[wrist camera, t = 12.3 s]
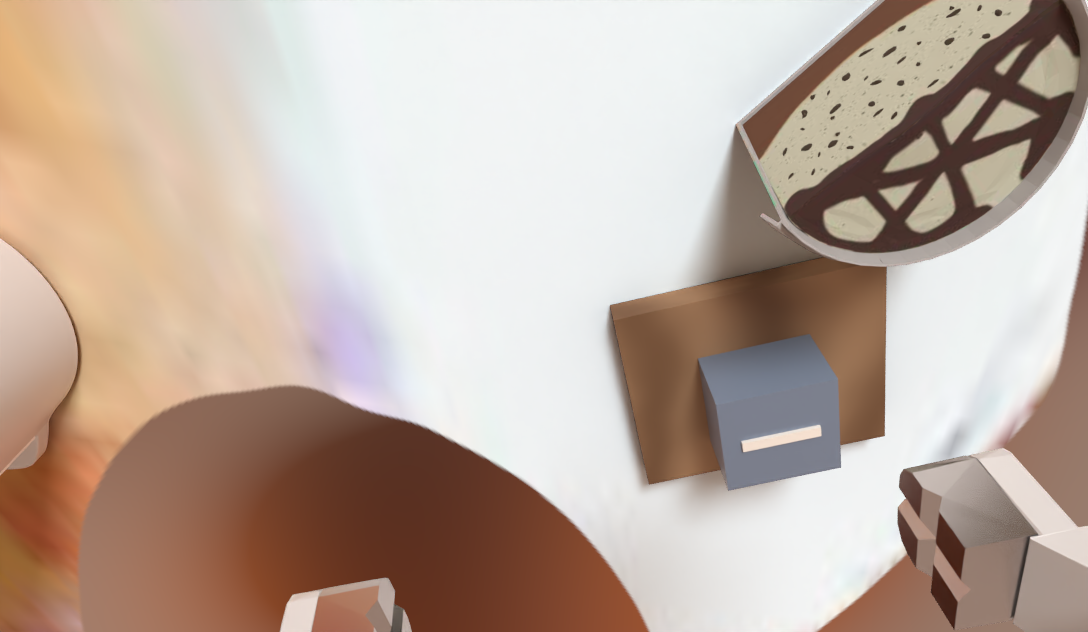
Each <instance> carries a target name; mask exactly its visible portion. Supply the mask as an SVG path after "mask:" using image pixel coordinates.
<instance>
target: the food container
mask: <svg viewBox="0 0 1088 632" xmlns="http://www.w3.org/2000/svg"><path fill="white" fill-rule="evenodd" d="M1087 106H1088V7H1087V5H1086V3H1085V0H877V1H876V2H875V3H873V4H872V5H871V6H870V7H869V8H868V9H867V10H865V11H864V12H863V13H862V14H861V15H860V16H859V17H858V18H856V19H855V20H854V21H853V22H852V23H851V24H850V25H848V26H847V27H846V28H845V29H844V30H843V31H842V32H840V33H839V34H838V35H837V36H836V37H835V38H834V39H832V40H831V41H830V42H829V43H828V44H827V45H826V46H825V47H823V48H822V49H821V50H820V51H819V52H818V53H817V54H815V55H814V56H813V57H812V58H811V59H810V60H809V61H807V62H806V63H805V64H804V65H803V66H802V67H801V68H800V69H798V70H797V71H796V72H795V73H794V74H793V75H792V76H790V77H789V78H788V79H787V80H786V81H785V82H784V83H782V84H781V85H780V86H779V87H778V88H777V89H776V90H774V91H773V92H772V93H771V94H770V95H769V96H768V97H767V98H765V99H764V100H763V101H762V102H761V103H760V104H759V105H757V106H756V107H755V108H754V109H753V110H752V111H751V112H749V113H748V114H747V115H746V116H745V117H744V118H743V119H741V120H740V121H739V122H738V123H737V124H736V126H737V129H738V131H739V133H740V135H741V137H742V139H743V141H744V143H745V145H746V148H747V150H748V152H749V154H750V156H751V158H752V160H753V162H754V164H755V166H756V169H757V171H758V173H759V175H760V177H761V179H762V181H763V183H764V185H765V188H766V190H767V192H768V194H769V196H770V198H771V200H772V202H773V204H774V206H775V209H776V211H777V213H778V215H779V217H780V219H781V220H780V221H779V222H777V221H775V220H774V219H772V218H770V217H768V216H767V215H765V214H763V213H762V214H761V215H760V217H761V218H762V219H763V220H764V221H766V222H767V223H768V224H769V225H770V226H771V227H772V228H774V229H775V230H776V231H778V232H779V233H781V234H783V235H784V236H786V237H787V238H789V239H791V240H792V241H794V242H795V243H797V244H799V245H800V246H802V247H804V248H805V249H807V250H808V251H810V252H813V253H815V254H818V255H820V256H823V257H825V258H828V259H831V260H836V261H840V262H845V263H850V264H856V265H861V266H880V267H886V266H897V265H907V264H912V263H916V262H921V261H925V260H930V259H933V258H936V257H938V256H941V255H944V254H947V253H950V252H952V251H955V250H957V249H959V248H961V247H963V246H965V245H967V244H969V243H971V242H973V241H975V240H977V239H979V238H980V237H982V236H984V235H985V234H987V233H988V232H990V231H991V230H993V229H994V228H996V227H998V226H999V225H1001V224H1002V223H1003V222H1004V221H1005V220H1007V219H1008V218H1009V217H1010V216H1012V215H1013V214H1014V213H1015V212H1017V211H1018V210H1019V209H1020V208H1021V207H1022V206H1023V205H1024V204H1025V203H1026V202H1027V201H1028V200H1029V199H1030V198H1031V197H1032V196H1033V195H1034V194H1035V193H1036V192H1037V191H1038V190H1039V189H1040V188H1041V187H1042V186H1043V185H1044V183H1045V182H1046V181H1047V180H1048V178H1049V177H1050V176H1051V175H1052V173H1053V172H1054V171H1055V169H1056V168H1057V167H1058V165H1059V164H1060V162H1061V161H1062V159H1063V157H1064V156H1065V154H1066V153H1067V151H1068V149H1069V148H1070V146H1071V144H1072V143H1073V141H1074V138H1075V136H1076V134H1077V132H1078V130H1079V128H1080V125H1081V123H1082V121H1083V119H1084V116H1085V113H1086V110H1087Z"/></svg>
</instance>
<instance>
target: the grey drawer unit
mask: <svg viewBox="0 0 1088 632" xmlns="http://www.w3.org/2000/svg"><path fill="white" fill-rule="evenodd" d="M698 363H699V370H700V376H701V383H702V389H703V396H704V402H705V409H706V415H707V422H708V428H709V435H710V441H711V444H712V447H713V449H714V452H715V455H716V458H717V460H718V463H719V466H720V469H721V472H722V474H723V477H724V480H725V483H726V486H727V488H728V491H729V490H734V489H738V488H743V487H748V486H753V485H758V484H763V483H768V482H772V481H777V480H782V479H787V478H792V477H797V476H802V475H806V474H811V473H816V472H821V471H826V470H831V469H836V468H841V453H840V422H839V392H838V378H837V376H836V375H835V373H834V372H833V370H832V369H831V367H830V365H829V364H828V362H827V361H826V359H825V358H824V356H823V354H822V353H821V351H820V350H819V348H818V347H817V345H816V343H815V342H814V340H813V339H812V337H811V336H810V334H807V335H803V336H798V337H793V338H789V339H784V340H780V341H775V342H771V343H766V344H761V345H757V346H752V347H748V348H743V349H739V350H734V351H730V352H725V353H720V354H716V355H711V356H707V357H702V358H698Z"/></svg>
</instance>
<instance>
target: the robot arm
mask: <svg viewBox="0 0 1088 632" xmlns="http://www.w3.org/2000/svg"><path fill="white" fill-rule="evenodd" d="M77 364H78V349H77V342H76V336H75V333H74V329H73V326H72V323H71V320H70V318H69V316H68V314H67V311H66V309H65V308H64V306H63V304H62V302H61V300H60V299H59V297H58V296H57V294H56V293H55V291H54V290H53V288H52V287H51V286H50V284H49V283H48V282H47V281H46V279H45V278H44V277H43V276H42V275H41V274H40V273H39V271H38V270H37V269H36V268H35V267H34V266H33V265H32V264H31V263H30V262H29V261H28V260H27V259H26V258H24V257H23V256H22V255H21V254H20V253H19V252H18V251H16V250H15V249H14V248H13V247H11V246H10V245H9V244H7V243H6V242H5V241H3V240H2V239H0V475H1V474H2V473H3V472H4V471H5V470H7V469H22V468H27V467H29V466H31V465H33V464H34V463H35V462H36V461H37V460H38V459H39V458H40V457H41V456H42V455H43V453H44V452H45V450H46V448H47V444H48V434H49V420H50V417H51V415H52V414H53V412H54V411H55V409H56V408H57V407H58V406H59V404H60V403H61V402H62V401H63V399H64V398H65V397H66V395H67V393H68V392H69V390H70V388H71V386H72V384H73V381H74V378H75V375H76V371H77ZM899 488H900V490H901V491H902V493H903V494H904V496H905V497H906V499H905V500H904V501H903V502H902V503H901V504H900V506H899V507H898V527H899V531H900V535H901V539H902V542H903V544H904V547H905V549H906V551H907V554H908V555H909V557H910V559H911V560H912V562H913V564H914V565H915V567H916V568H917V569H919V570H921V571H922V572H924V573H926V574H928V575H929V576H931V577H932V585H931V593H932V595H933V597H934V598H935V600H936V601H937V603H938V605H939V606H940V608H941V609H942V611H943V613H944V614H945V616H946V618H947V619H948V621H949V622H950V624H951V626H952V627H953V629H954V630H959V629H964V628H970V627H976V626H982V625H988V624H994V623H1000V622H1006V621H1012V620H1014V621H1013V624H1015V625H1016V626H1018V627H1019V628H1021V629H1022V630H1023V631H1025V632H1088V526H1084V527H1077V526H1076V525H1075V524H1074V523H1073V521H1072V520H1071V519H1070V518H1069V517H1068V516H1067V514H1066V513H1065V512H1064V511H1063V510H1062V509H1061V508H1060V507H1059V506H1058V504H1057V503H1056V502H1055V501H1054V500H1053V499H1052V498H1051V497H1050V496H1049V494H1048V493H1047V492H1046V491H1045V490H1044V489H1043V488H1042V487H1041V485H1040V484H1039V483H1038V482H1037V481H1036V480H1035V479H1034V478H1033V477H1032V475H1031V474H1030V473H1029V472H1028V471H1027V470H1026V469H1025V468H1024V466H1023V465H1022V464H1021V463H1020V462H1019V461H1018V460H1017V459H1016V458H1015V456H1014V455H1013V454H1012V453H1011V452H1009V451H1007V450H1005V449H1004V448H1002V449H997V450H992V451H987V452H983V453H978V454H973V455H969V456H961V457H957V458H952V459H948V460H943V461H939V462H934V463H930V464H925V465H921V466H916V467H911V468H907V469H903V471H902V473H901V475H900V481H899ZM394 596H395V590H394V589H393V587H392V585H391V583H390V581H389V579H388V578H381V579H375V580H370V581H364V582H359V583H353V584H348V585H342V586H336V587H331V588H325V589H321V590H316V591H311V592H306V593H300V594H295V595H292V597H291V599H290V600H289V602H288V603H287V605H286V609H285V613H284V617H283V621H282V625H281V629H280V632H412V631H411V628H410V624H409V620H408V617H407V615H406V613H405V611H404V609H403V608H400V607H399V606H397V605H395V604H394Z"/></svg>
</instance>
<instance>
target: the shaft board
mask: <svg viewBox="0 0 1088 632" xmlns="http://www.w3.org/2000/svg"><path fill="white" fill-rule="evenodd" d="M886 268H887V266H886V267H880V266H861V265H856V264H850V263H845V262H840V261H836V260H831V259H828V258H825V257H823V258H818V259H814V260H810V261H805V262H801V263H796V264H792V265H787V266H783V267H778V268H774V269H769V270H765V271H761V272H756V273H752V274H747V275H743V276H738V277H734V278H729V279H725V280H720V281H716V282H712V283H707V284H703V285H698V286H694V287H689V288H685V289H680V290H676V291H671V292H667V293H663V294H658V295H654V296H649V297H645V298H640V299H636V300H631V301H627V302H622V303H618V304H614V305H610V308H611V312H612V317H613V322H614V326H615V331H616V335H617V340H618V345H619V349H620V354H621V359H622V363H623V368H624V372H625V377H626V382H627V386H628V391H629V396H630V400H631V405H632V409H633V414H634V419H635V423H636V428H637V432H638V437H639V442H640V446H641V451H642V456H643V460H644V465H645V469H646V473H647V478H648V482H649V484H654V483H659V482H664V481H668V480H673V479H678V478H683V477H688V476H693V475H697V474H702V473H707V472H712V471H717V470H721V469H720V466H719V463H718V460H717V458H716V455H715V452H714V449H713V447H712V444H711V441H710V435H709V428H708V422H707V415H706V409H705V402H704V396H703V389H702V383H701V376H700V370H699V363H698V358H702V357H707V356H711V355H716V354H720V353H725V352H730V351H734V350H739V349H743V348H748V347H752V346H757V345H761V344H766V343H771V342H775V341H780V340H784V339H789V338H793V337H798V336H803V335H807V334H810V336H811V337H812V339H813V340H814V342H815V343H816V345H817V347H818V348H819V350H820V351H821V353H822V354H823V356H824V358H825V359H826V361H827V362H828V364H829V365H830V367H831V369H832V370H833V372H834V373H835V375H836V376H837V378H838V392H839V422H840V445H843V444H848V443H853V442H858V441H862V440H867V439H872V438H877V437H882V436H885V353H886Z"/></svg>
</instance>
